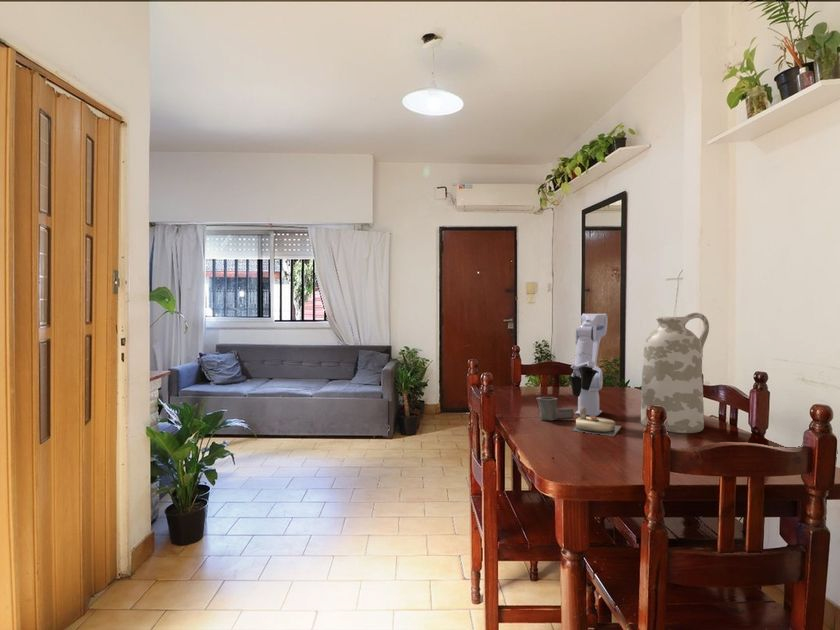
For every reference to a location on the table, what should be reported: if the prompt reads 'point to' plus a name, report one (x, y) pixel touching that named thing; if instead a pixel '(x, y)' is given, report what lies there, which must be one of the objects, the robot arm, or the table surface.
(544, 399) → the pipe
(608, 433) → the base plate
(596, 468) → the table surface
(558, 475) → the table surface
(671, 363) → the vase
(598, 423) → the beige low round piece
